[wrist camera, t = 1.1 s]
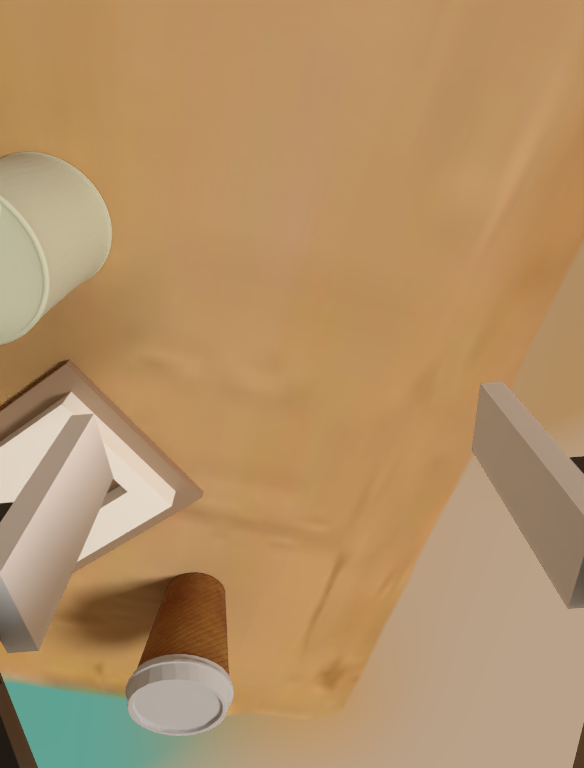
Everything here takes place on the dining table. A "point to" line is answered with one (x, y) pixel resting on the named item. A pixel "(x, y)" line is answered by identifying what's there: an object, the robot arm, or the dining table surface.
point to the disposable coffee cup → (184, 661)
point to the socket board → (123, 449)
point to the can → (45, 237)
